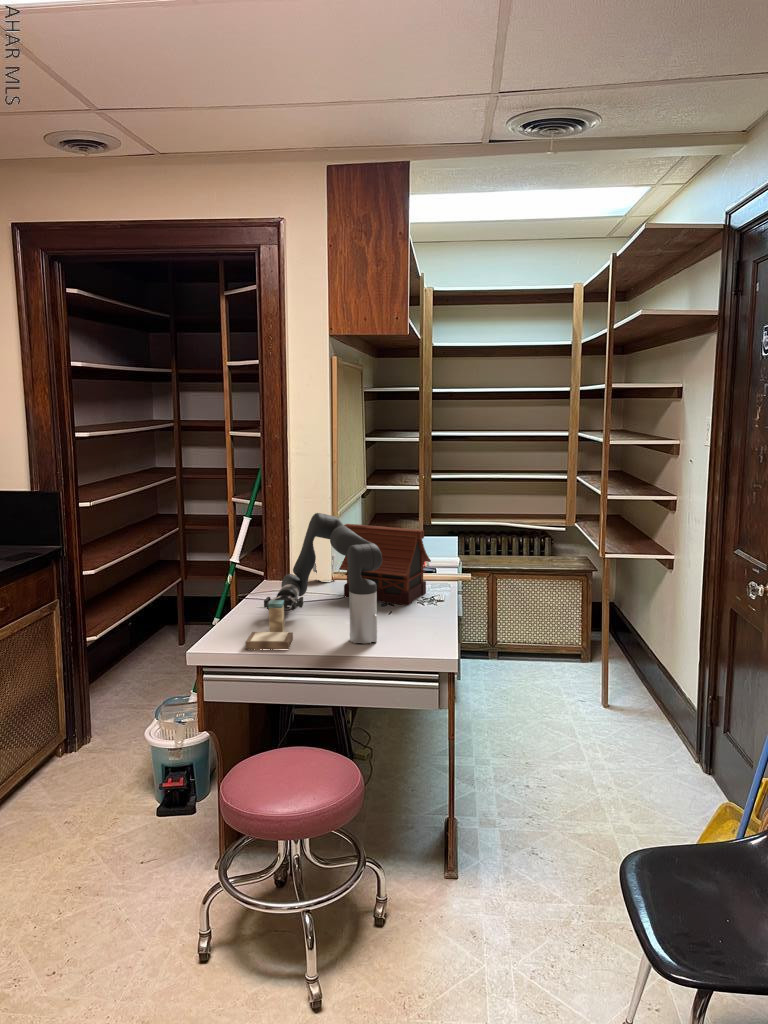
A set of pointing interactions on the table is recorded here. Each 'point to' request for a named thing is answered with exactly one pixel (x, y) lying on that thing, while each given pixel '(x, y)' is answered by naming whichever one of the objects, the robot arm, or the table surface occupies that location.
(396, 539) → the house
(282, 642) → the dock
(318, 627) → the table surface
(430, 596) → the table surface
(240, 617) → the table surface
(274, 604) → the teal topped tan block
